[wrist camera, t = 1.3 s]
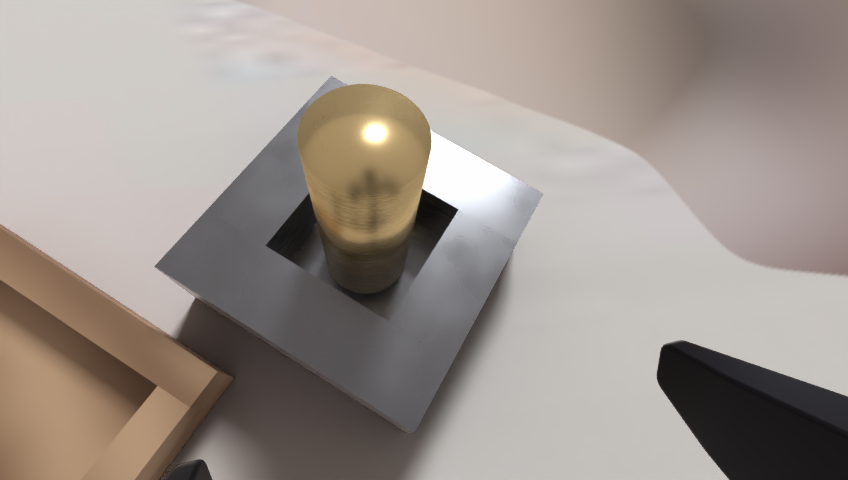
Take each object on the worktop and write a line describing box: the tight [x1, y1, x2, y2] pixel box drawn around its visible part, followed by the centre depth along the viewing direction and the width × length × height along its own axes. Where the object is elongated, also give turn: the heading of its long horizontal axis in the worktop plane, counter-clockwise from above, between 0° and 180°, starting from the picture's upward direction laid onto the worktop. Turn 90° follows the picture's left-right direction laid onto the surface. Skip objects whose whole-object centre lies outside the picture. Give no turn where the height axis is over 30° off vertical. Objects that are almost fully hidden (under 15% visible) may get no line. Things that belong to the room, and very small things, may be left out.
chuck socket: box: [154, 76, 543, 433], centre depth 21 cm, size 12×12×4 cm
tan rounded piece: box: [297, 84, 432, 294], centre depth 18 cm, size 4×4×10 cm
